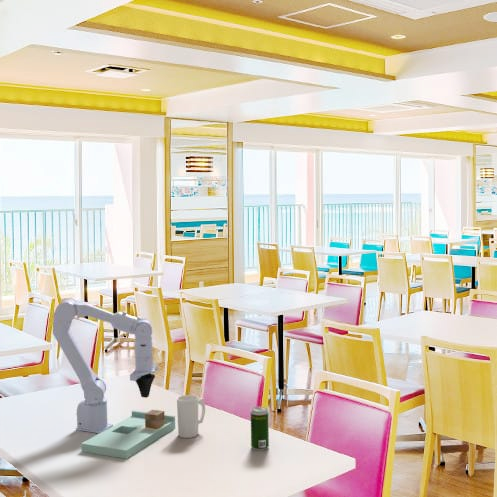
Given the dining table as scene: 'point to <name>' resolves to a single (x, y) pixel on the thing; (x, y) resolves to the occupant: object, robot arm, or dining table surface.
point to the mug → (189, 415)
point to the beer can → (259, 428)
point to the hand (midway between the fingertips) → (145, 396)
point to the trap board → (127, 436)
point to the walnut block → (154, 419)
